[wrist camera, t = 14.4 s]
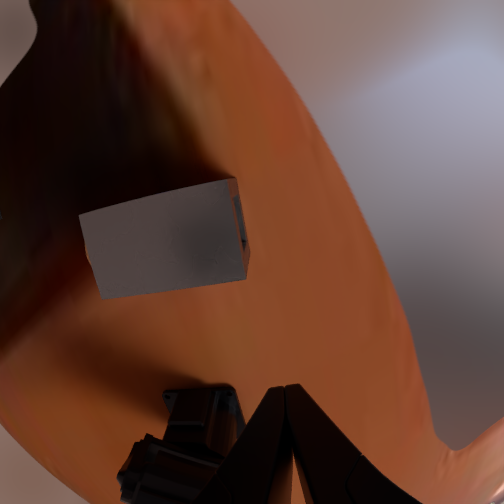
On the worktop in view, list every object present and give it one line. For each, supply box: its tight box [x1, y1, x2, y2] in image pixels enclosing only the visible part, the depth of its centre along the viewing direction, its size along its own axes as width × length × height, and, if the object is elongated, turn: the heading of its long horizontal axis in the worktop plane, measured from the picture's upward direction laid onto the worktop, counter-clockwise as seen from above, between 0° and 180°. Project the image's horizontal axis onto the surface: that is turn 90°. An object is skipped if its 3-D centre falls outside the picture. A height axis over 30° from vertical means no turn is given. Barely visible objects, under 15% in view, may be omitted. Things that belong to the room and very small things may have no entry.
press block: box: [79, 178, 250, 299], centre depth 17 cm, size 5×8×5 cm, turn 100°
